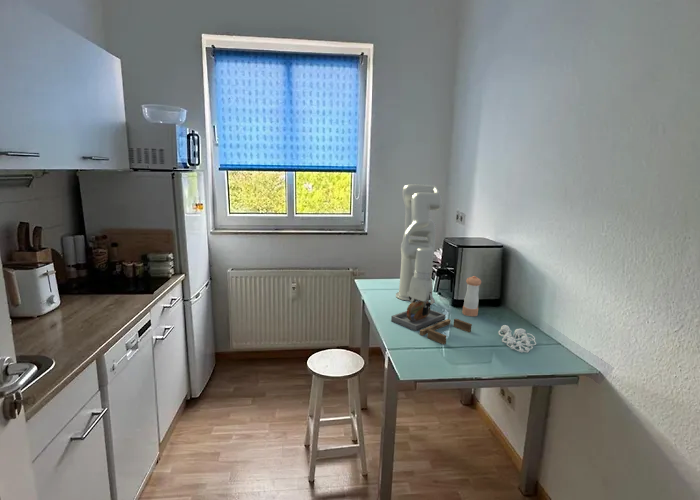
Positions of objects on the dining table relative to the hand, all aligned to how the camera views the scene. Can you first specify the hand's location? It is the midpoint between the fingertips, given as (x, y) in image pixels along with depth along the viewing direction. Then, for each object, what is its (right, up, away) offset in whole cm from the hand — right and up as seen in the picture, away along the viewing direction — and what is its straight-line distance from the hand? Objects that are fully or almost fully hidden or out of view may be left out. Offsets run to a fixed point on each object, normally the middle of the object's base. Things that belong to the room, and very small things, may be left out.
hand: (419, 312), depth 186 cm
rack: (+9, -7, -12) cm, 17 cm away
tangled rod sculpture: (+38, -10, -17) cm, 43 cm away
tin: (-1, -3, +1) cm, 3 cm away
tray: (0, -4, +1) cm, 4 cm away
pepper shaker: (+27, -3, +13) cm, 30 cm away
